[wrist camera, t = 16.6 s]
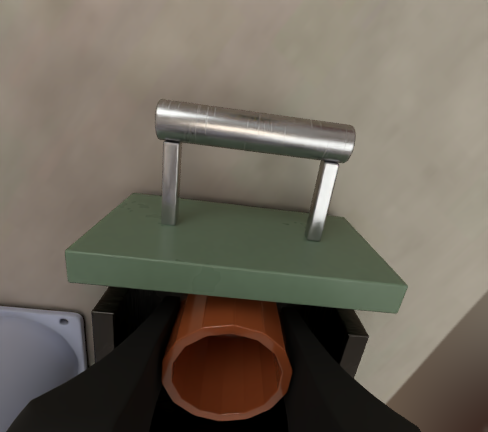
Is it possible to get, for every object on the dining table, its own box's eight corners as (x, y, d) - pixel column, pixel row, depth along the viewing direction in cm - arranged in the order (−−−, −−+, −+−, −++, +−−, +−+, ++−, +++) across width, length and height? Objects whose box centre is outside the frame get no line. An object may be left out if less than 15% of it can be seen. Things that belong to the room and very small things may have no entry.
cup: (181, 331, 16) (159, 417, 11) (186, 252, 14) (163, 319, 10) (268, 339, 16) (278, 425, 12) (283, 262, 14) (303, 331, 10)
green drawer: (131, 93, 13) (45, 85, 7) (369, 126, 14) (466, 142, 8) (134, 358, 19) (87, 473, 13) (302, 372, 20) (329, 486, 14)
